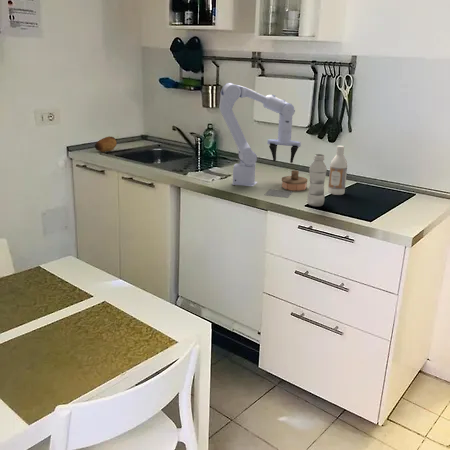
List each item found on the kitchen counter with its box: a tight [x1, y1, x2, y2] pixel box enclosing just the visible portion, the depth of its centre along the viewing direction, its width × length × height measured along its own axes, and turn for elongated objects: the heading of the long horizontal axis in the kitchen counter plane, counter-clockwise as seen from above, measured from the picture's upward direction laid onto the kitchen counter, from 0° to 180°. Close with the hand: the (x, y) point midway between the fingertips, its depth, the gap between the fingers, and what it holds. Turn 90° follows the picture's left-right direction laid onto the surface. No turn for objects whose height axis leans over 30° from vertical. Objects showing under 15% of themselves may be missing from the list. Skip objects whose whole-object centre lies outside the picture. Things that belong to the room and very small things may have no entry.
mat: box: [264, 188, 293, 199], centre depth 218 cm, size 10×10×1 cm
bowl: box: [281, 180, 308, 192], centre depth 227 cm, size 10×10×4 cm
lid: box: [281, 169, 308, 184], centre depth 225 cm, size 11×11×4 cm
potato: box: [94, 135, 117, 153], centre depth 290 cm, size 8×13×8 cm
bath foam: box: [327, 145, 348, 196], centre depth 219 cm, size 7×7×20 cm
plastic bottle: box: [306, 153, 328, 207], centre depth 201 cm, size 6×7×20 cm
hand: (283, 161), depth 232 cm, fingers open, 7 cm apart
